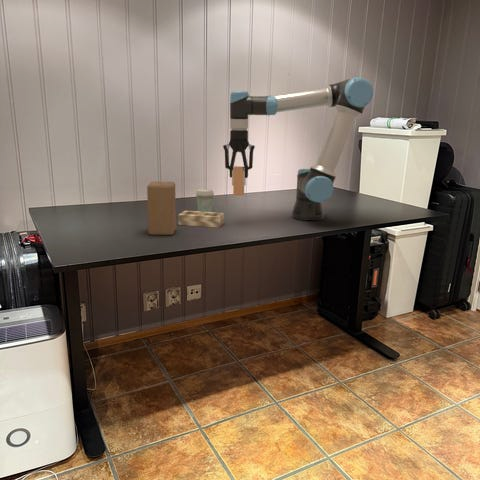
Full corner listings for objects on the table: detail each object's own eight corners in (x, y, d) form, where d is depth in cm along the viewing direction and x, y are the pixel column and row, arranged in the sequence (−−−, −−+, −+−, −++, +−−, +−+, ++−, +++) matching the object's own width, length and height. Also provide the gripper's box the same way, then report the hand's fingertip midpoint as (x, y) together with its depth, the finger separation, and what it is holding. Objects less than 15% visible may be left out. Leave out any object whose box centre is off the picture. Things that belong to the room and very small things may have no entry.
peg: (244, 194, 205) (244, 166, 202) (242, 195, 201) (242, 167, 198) (235, 193, 205) (235, 166, 202) (233, 195, 202) (233, 167, 198)
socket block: (223, 222, 208) (223, 213, 206) (219, 227, 199) (219, 217, 198) (184, 220, 211) (184, 210, 209) (178, 224, 202) (178, 214, 201)
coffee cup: (197, 217, 217) (197, 191, 214) (194, 213, 225) (194, 188, 222) (215, 216, 219) (215, 191, 216) (211, 213, 227) (211, 188, 224)
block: (176, 229, 194) (175, 181, 189) (173, 235, 185) (172, 185, 179) (151, 229, 194) (150, 181, 189) (148, 235, 184) (146, 184, 179)
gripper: (260, 129, 198) (259, 184, 204) (221, 129, 201) (221, 183, 207) (258, 130, 191) (257, 187, 197) (217, 129, 194) (217, 185, 200)
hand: (238, 185), depth 202 cm, fingers closed on peg, 4 cm apart
